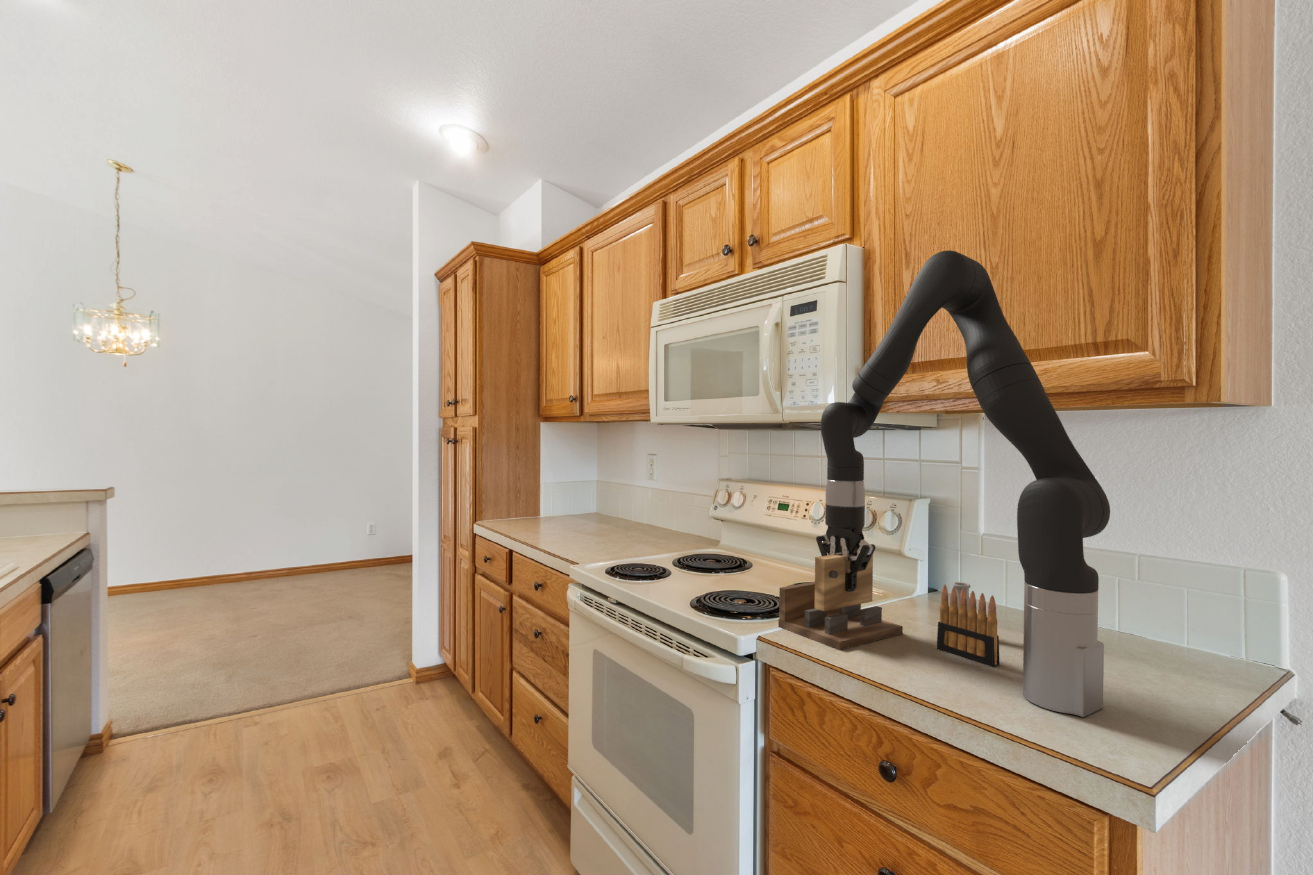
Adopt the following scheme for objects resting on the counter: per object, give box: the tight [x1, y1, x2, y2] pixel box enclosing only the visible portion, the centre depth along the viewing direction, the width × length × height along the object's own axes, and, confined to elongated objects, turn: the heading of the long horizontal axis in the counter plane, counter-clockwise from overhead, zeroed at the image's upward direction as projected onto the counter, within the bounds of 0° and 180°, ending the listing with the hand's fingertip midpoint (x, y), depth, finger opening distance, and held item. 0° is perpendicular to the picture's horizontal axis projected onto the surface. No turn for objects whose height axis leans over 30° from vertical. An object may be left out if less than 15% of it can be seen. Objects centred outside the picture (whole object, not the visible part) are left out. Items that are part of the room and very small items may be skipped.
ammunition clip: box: [936, 584, 1001, 668], centre depth 111 cm, size 11×2×12 cm, turn 33°
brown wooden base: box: [777, 581, 904, 651], centre depth 126 cm, size 16×18×8 cm
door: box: [814, 551, 874, 611], centre depth 124 cm, size 3×14×10 cm, turn 122°
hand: (844, 589), depth 125 cm, fingers closed on door, 2 cm apart
